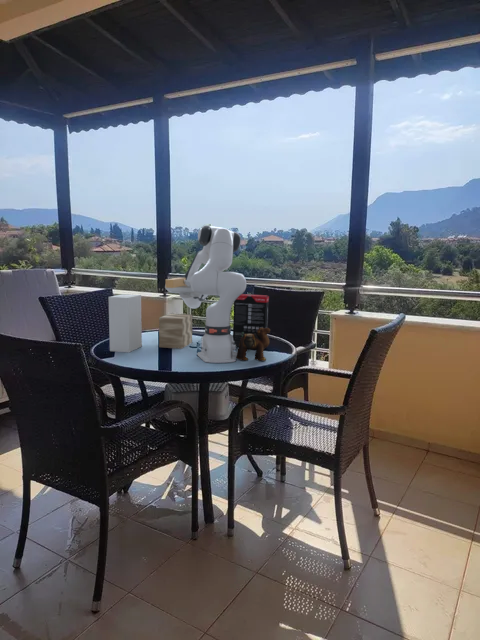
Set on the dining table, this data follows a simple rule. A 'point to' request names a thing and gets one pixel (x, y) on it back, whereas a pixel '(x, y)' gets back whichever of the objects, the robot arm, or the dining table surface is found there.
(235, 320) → the graphics card box
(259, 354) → the figurine
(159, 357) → the dining table surface
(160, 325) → the pedestal
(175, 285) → the bar
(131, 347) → the stand
